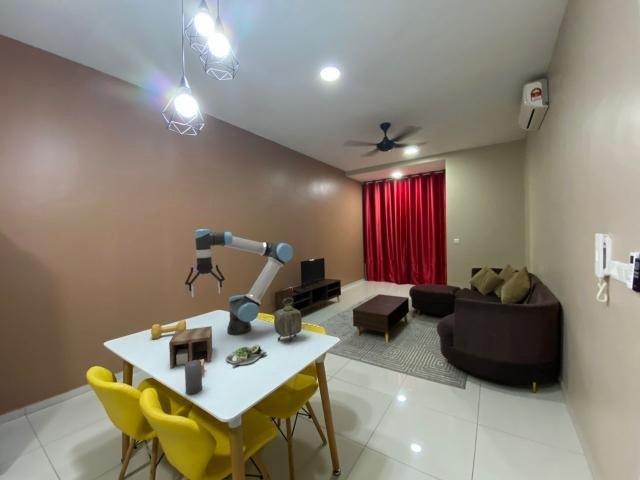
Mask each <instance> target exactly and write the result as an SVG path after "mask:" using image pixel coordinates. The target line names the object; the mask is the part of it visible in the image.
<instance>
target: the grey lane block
mask: <svg viewBox="0 0 640 480" xmlns="http://www.w3.org/2000/svg"><path fill="white" fill-rule="evenodd" d="M187 362H189V348H187V349H181V350H178V352H177V354H176V362H175V364H176V365H177V366H179V365H185V364H186V363H187Z"/></svg>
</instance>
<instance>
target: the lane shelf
mask: <svg viewBox="0 0 640 480" xmlns="http://www.w3.org/2000/svg"><path fill="white" fill-rule="evenodd" d="M212 327H213V326H202V327H196V328H195V327H194V328H193V327H192V328H188V329H187V328H186V330H178V331H174V332H173V335H172V337H171V339H170V341H169V343H168V347H169V348H168V349H169V369H174V367H175V364H176V354H177V352H178V350H181V349H187V348H189V361H188V362H190V361H193V360H195V356H196V353H198V352H204V351H206V352H207V363H210V362H211V361H212V353H213V330H212V329H213V328H212Z"/></svg>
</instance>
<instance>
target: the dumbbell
mask: <svg viewBox="0 0 640 480" xmlns="http://www.w3.org/2000/svg"><path fill="white" fill-rule="evenodd" d="M186 329H187V323H186V320H185V319H182V320H179V321H178V322H177V324H176V325H171V326H165V327H162V326H161V324H159V323H156V324H153V325H152V326H151V329H150V330H151V331H150V333H151V334H150V335H151V338H152V339H153V340H157V339H159V338H160V337H161V335H162V334H166V333H167V334H168V333H172V332H173V333H175V331H178V330H186Z"/></svg>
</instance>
